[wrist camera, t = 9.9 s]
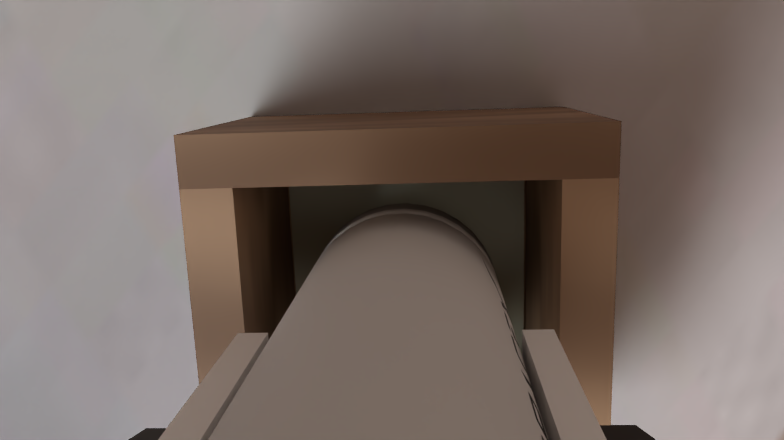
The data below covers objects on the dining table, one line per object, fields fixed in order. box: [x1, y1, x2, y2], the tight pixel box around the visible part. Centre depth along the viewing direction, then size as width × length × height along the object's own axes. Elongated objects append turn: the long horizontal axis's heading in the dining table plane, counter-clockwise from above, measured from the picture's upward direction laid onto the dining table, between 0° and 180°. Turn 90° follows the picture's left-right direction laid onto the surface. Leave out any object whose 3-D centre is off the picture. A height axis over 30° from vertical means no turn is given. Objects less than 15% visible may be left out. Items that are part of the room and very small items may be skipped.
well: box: [174, 107, 621, 425], centre depth 23 cm, size 12×12×8 cm
